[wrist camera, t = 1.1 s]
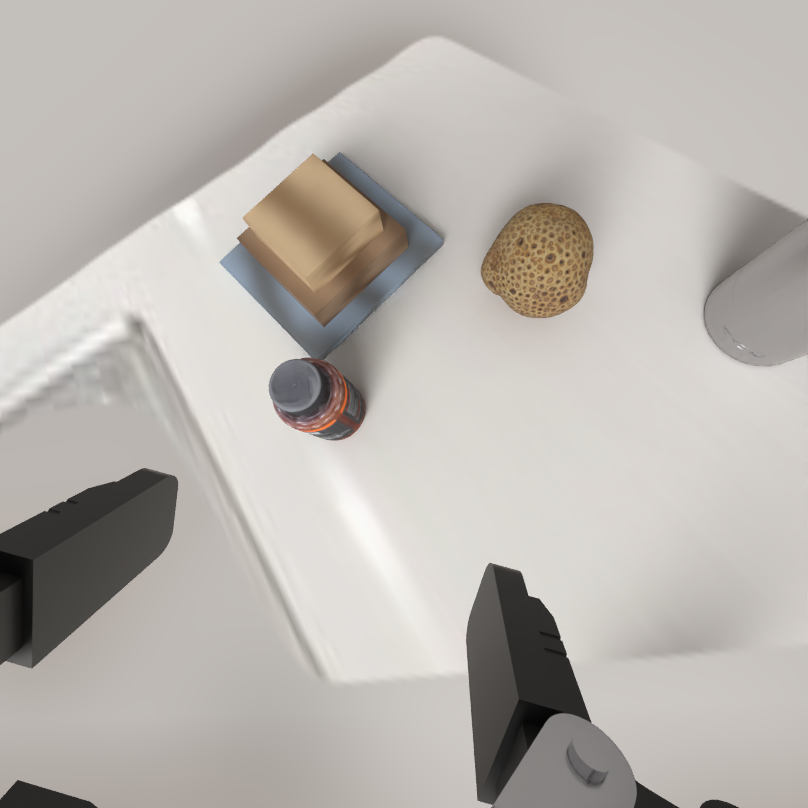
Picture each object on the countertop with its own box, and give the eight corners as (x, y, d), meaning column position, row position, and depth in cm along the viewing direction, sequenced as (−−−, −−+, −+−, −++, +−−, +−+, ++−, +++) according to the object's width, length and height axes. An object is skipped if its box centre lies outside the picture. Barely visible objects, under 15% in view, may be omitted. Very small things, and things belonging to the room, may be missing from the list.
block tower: (341, 159, 46) (323, 102, 39) (443, 244, 43) (442, 199, 36) (224, 267, 45) (184, 227, 38) (318, 363, 41) (293, 340, 35)
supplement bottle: (350, 372, 41) (315, 330, 30) (376, 423, 40) (349, 400, 29) (298, 399, 41) (243, 368, 30) (322, 452, 40) (274, 440, 29)
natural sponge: (593, 308, 40) (640, 251, 30) (512, 350, 40) (533, 307, 30) (544, 236, 42) (573, 160, 32) (467, 276, 42) (473, 213, 32)
